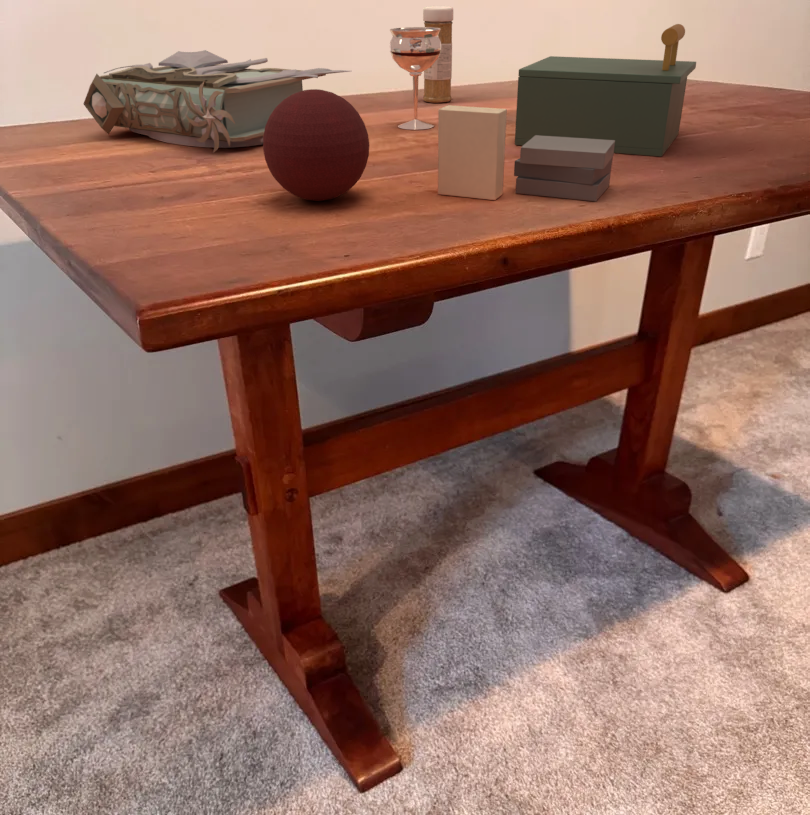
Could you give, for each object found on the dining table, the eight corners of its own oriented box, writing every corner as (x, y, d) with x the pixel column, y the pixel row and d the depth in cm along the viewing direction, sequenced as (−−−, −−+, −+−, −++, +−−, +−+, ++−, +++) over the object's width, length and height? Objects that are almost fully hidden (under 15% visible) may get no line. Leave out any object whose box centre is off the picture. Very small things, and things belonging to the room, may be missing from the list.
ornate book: (81, 143, 106) (247, 160, 92) (63, 65, 102) (235, 69, 87) (203, 116, 123) (361, 127, 108) (193, 47, 118) (356, 49, 103)
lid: (695, 68, 98) (702, 21, 95) (679, 84, 87) (687, 31, 85) (549, 62, 105) (552, 18, 102) (518, 76, 94) (520, 27, 91)
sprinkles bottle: (418, 100, 128) (418, 6, 121) (444, 98, 129) (445, 5, 123) (430, 104, 124) (431, 7, 117) (457, 102, 126) (458, 6, 119)
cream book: (503, 194, 78) (507, 108, 74) (495, 200, 77) (498, 113, 73) (446, 188, 81) (447, 104, 77) (437, 194, 79) (438, 109, 75)
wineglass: (420, 119, 113) (420, 26, 107) (450, 126, 108) (452, 29, 102) (381, 125, 110) (378, 29, 104) (410, 133, 105) (409, 32, 99)
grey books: (613, 185, 81) (619, 139, 79) (599, 202, 75) (604, 154, 73) (530, 177, 84) (532, 133, 82) (510, 193, 79) (512, 146, 76)
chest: (678, 134, 102) (688, 68, 98) (661, 156, 91) (672, 84, 88) (544, 125, 109) (549, 63, 105) (514, 145, 98) (518, 76, 94)
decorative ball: (335, 180, 84) (330, 78, 79) (391, 201, 77) (389, 90, 72) (250, 197, 79) (238, 89, 74) (301, 220, 72) (292, 102, 67)
